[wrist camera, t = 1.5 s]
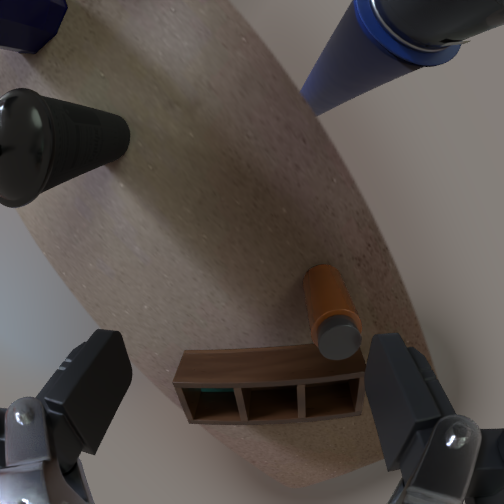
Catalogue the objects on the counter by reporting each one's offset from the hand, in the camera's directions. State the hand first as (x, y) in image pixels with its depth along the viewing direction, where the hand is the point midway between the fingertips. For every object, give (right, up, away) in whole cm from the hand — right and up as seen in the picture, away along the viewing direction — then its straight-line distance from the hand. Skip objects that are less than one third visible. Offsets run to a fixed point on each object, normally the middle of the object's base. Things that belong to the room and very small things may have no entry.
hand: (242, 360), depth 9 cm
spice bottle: (+7, 0, +21) cm, 22 cm away
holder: (+3, -11, +26) cm, 28 cm away
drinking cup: (-14, +14, +17) cm, 26 cm away
